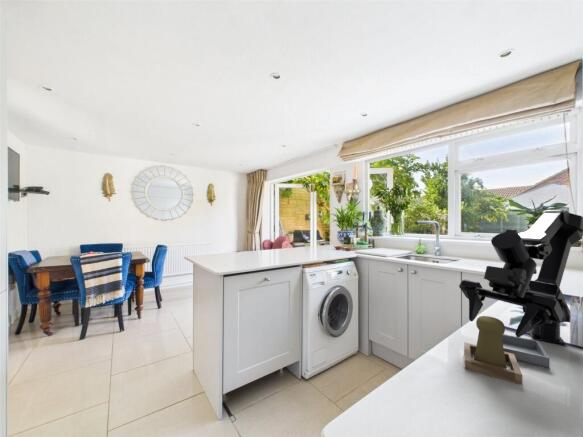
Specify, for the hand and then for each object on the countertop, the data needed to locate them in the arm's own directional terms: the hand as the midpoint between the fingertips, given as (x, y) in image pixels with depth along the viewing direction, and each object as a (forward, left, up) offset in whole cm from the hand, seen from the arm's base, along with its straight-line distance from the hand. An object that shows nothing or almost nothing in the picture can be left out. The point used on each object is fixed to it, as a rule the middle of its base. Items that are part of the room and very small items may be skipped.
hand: (492, 327), depth 58 cm
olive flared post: (+1, 0, -9) cm, 9 cm away
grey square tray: (-10, +6, -9) cm, 14 cm away
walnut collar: (+1, 0, -9) cm, 9 cm away
